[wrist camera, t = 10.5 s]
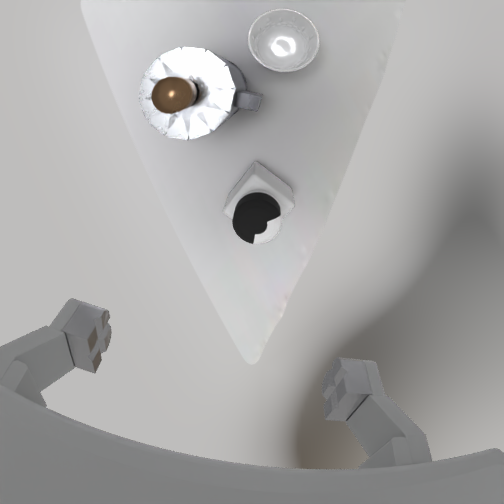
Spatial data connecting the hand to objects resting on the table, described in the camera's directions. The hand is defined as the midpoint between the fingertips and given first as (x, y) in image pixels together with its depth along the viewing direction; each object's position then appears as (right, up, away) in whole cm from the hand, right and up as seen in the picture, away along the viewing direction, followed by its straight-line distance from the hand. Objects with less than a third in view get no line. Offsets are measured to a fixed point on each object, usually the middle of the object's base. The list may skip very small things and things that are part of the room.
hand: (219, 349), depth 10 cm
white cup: (+5, +32, +27) cm, 42 cm away
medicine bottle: (+2, +13, +38) cm, 40 cm away
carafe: (-3, +26, +30) cm, 40 cm away
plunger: (-5, +25, +28) cm, 38 cm away
